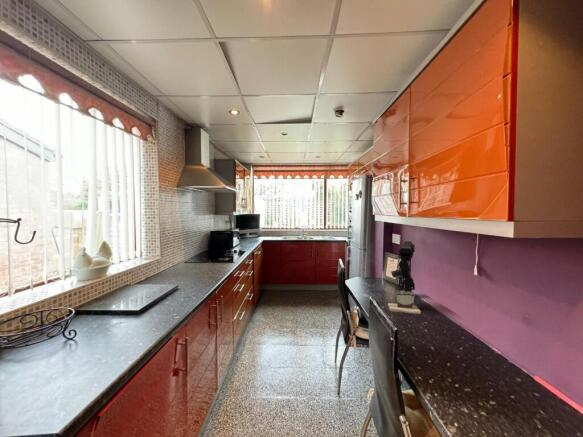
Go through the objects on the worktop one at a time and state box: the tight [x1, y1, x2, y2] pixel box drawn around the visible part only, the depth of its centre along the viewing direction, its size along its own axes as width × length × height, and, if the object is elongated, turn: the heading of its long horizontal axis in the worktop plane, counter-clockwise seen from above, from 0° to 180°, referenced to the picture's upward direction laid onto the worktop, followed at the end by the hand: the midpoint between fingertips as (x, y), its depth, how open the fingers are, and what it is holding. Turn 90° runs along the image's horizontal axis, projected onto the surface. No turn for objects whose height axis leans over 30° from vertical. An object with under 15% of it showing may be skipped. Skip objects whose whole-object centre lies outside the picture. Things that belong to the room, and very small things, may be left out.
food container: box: [395, 290, 416, 309], centre depth 175 cm, size 12×6×10 cm, turn 79°
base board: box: [387, 302, 422, 315], centre depth 174 cm, size 12×18×1 cm, turn 79°
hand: (404, 289), depth 174 cm, fingers open, 9 cm apart
